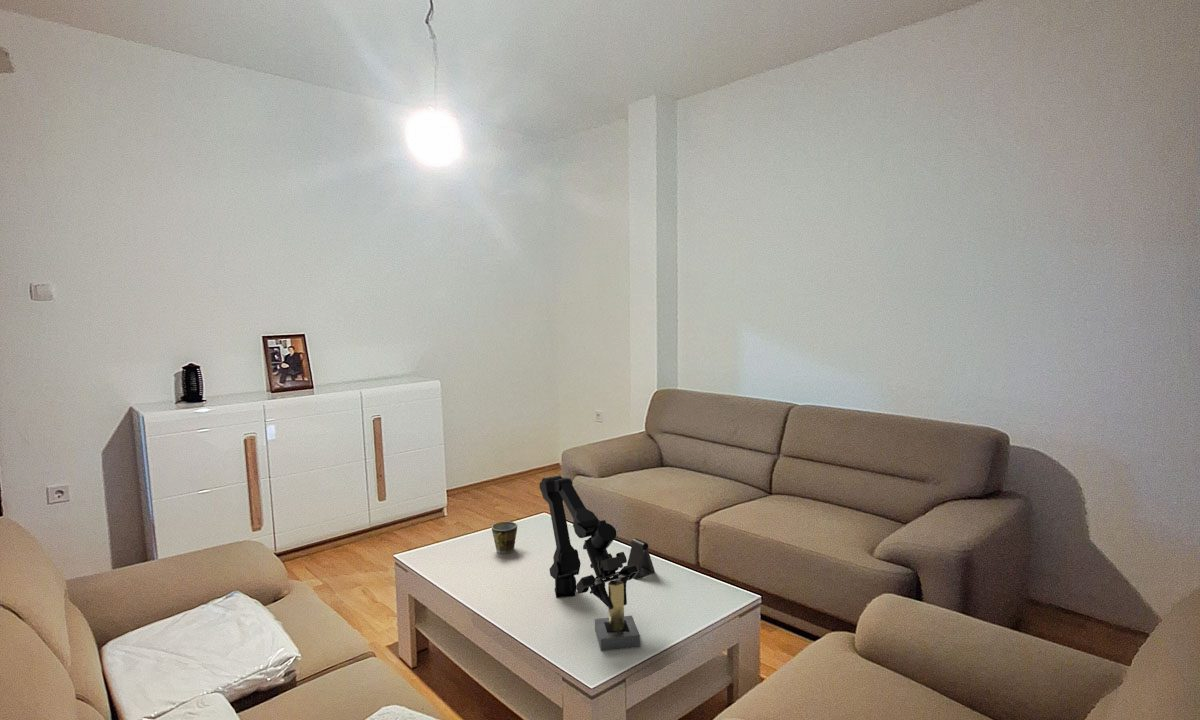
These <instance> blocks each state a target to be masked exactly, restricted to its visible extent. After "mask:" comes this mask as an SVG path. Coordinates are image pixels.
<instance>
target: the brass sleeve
mask: <svg viewBox="0 0 1200 720" xmlns="http://www.w3.org/2000/svg"><path fill="white" fill-rule="evenodd" d="M607 583H608V586H607V587H608V591H607V592H608V596H609V599H610V601H611V604H612V607H613V609H611V610H610V609H609V608H608V618H609V628H610V629H611V630H614V631H620V630H622V629H624V616H625V605H624V583H623V582H622V581H620V580H612V581H609V582H607Z"/></svg>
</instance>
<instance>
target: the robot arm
mask: <svg viewBox="0 0 1200 720" xmlns="http://www.w3.org/2000/svg"><path fill="white" fill-rule="evenodd" d="M539 490H540V492H541V495H542V498H543V499H544V500H545V502H546V503H548V504H547V505H548V507H549V512H550V518H551V523H552V529H553V535H554V540H555V547H556V548H555V551H554V554H553V563H552V565H551V566H550V568H549V575H550V576H551V578H552V579H554V594H555V598H567V597H568V598H569V597H575V596H577V595H576V593H577V594H578V595H581V594H585V593H588V591H589V589H590V591H589V594H591V595H592V594H593V595H594V596H595V597H596V598H597V599H598V600H600V601H602V603H603V604H604V605H605V606H606V607H607V608H608V610H609V609H610V610H611V609H613V607H612V604H611V601H610V599H609V593H608V591H607V590H606V583H609V582H610V581H613V580H620V581H622V582H623V583H624V606H626V605H627V604H628V602H627V601H628V599H627V582H628V581H630V580H632V579H635V578H634V577H635V576H636V574H637V573H638V572H639V570H638V567H637V566H636V565H635V564H631V565H627V564H626V563H628V559H627V556H626V554H625V552H624V551H621V552H618V553H616V554H615V556H613V555H612V553H609V552H608V550H607V548H609V546H610V545H611V544H612V543H613V541H614V540H615V539H616V537H617V530H616V528H615V527H614V526H613V525H611V524H610V523H608V522H607V521H606V520H605V519H603V520H600V519H599V518H598V516H597V515H596V514H595V513H594V512H593V511H591V510H590V509H587V507H586V506H585V504H584V503H583V500H582V499H581V497H580V495H579V494H578V492H577V491H576V489H575V487H574V486H573V481H572V479H571V478H570V477H562V476H561V474H560V475H554V476H553V475H552V476H547V477H542V479H541V480H540V482H539ZM564 504H565V505H564ZM565 506H566V508H567V509H568V511H569V512H570V515H571V516H572V518H573V519H572V520H573V521H572V527H573V530H574V533H575V535H576V536H577V537H578V539H585V538H587V539H585V540H584V543H583V545H582V549H583V550H586V552H587V554H588V558H589V560H590V563H591V564H590V566H589V567H590V568H591V569H593V571H594V573H595V574H594V575H595V576H594V575H593V574H591V575H587V576H582V577H581V578H580V580H579V581H578V582H577V579H576V577H575V576H578V575H580V569H581V565H582V563H581V560H580V557H579V551H578V550H577V549H576V548H574V547H573V545H572V544H571V538H570V534H569V533H570V532H569V527H568V523H567V517H566V512H565ZM588 537H589V538H588ZM623 564H626V565H625V566H624V565H623ZM619 569H620V571H619Z"/></svg>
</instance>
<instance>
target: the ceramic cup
mask: <svg viewBox="0 0 1200 720" xmlns="http://www.w3.org/2000/svg"><path fill="white" fill-rule="evenodd" d="M491 531H492V537H493V539H494V544H495V550H496V552H498V554H505V555H507V554H511V553H513V551H514V550H515V546H516V545H515V544H516V538H517V531H518V523H516V522H514V521H505V520H504V521H498V522H496V523H494V524H492V526H491Z"/></svg>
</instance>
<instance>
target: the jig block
mask: <svg viewBox="0 0 1200 720" xmlns="http://www.w3.org/2000/svg"><path fill="white" fill-rule="evenodd" d="M594 631H595V635H596V638H597V642H598V643H597V644H598V647H599V648H600V652H606V651H615V650H624V649H625V650H626V649H636V648H641V634H640V632H639V629H638V627H637V625H636V622H635V620H634V618H633V615H624V629H622V630H620V631H614V630H611V629H610V628H609V617H602V618H594Z"/></svg>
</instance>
